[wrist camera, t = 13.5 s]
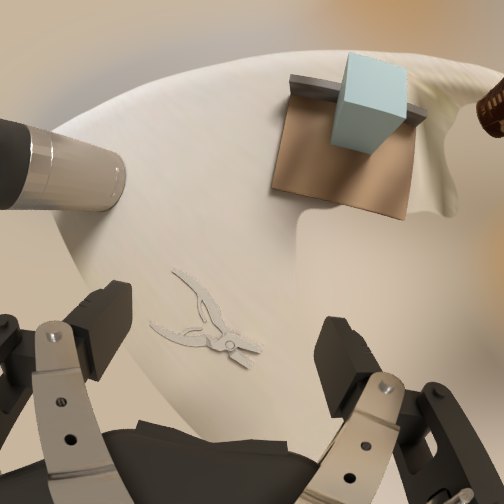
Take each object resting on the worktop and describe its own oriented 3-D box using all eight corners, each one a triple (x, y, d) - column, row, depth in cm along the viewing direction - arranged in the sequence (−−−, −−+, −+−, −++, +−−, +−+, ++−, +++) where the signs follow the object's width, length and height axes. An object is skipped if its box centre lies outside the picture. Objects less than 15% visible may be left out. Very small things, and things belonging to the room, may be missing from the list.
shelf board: (272, 188, 32) (267, 182, 27) (293, 89, 30) (291, 71, 26) (401, 220, 30) (416, 219, 25) (413, 120, 28) (426, 107, 23)
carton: (330, 144, 29) (344, 101, 17) (335, 105, 29) (349, 50, 17) (371, 154, 28) (406, 118, 17) (375, 115, 28) (406, 67, 16)
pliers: (171, 267, 34) (276, 329, 32) (176, 265, 36) (277, 325, 34) (145, 327, 36) (238, 386, 34) (150, 324, 37) (241, 380, 36)
